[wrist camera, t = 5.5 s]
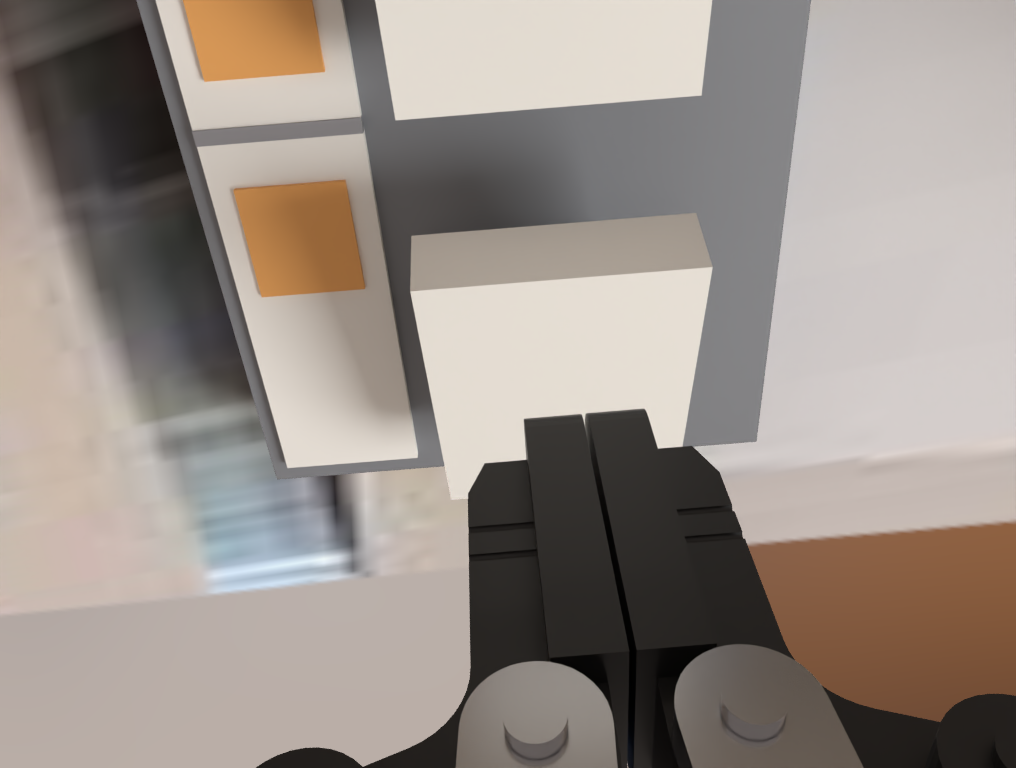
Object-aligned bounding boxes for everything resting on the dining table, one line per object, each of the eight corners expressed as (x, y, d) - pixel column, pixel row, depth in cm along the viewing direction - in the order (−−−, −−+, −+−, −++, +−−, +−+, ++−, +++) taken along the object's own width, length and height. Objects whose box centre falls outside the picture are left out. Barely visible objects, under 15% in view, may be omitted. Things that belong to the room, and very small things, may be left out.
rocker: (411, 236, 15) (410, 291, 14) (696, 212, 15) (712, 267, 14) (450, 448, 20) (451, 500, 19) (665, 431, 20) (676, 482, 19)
